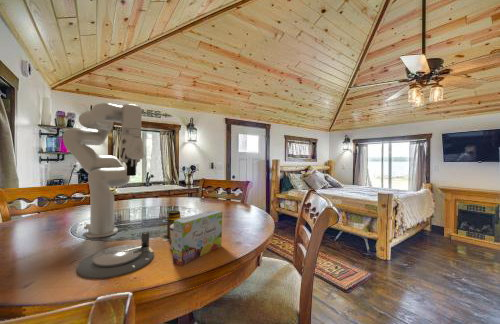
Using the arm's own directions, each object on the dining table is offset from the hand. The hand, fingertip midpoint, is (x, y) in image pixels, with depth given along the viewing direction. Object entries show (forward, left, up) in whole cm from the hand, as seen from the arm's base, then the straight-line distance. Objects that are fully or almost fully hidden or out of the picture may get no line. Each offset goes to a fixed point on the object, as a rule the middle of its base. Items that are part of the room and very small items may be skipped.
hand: (131, 175), depth 95 cm
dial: (+8, -16, -28) cm, 33 cm away
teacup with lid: (+24, -4, -29) cm, 38 cm away
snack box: (+34, -7, -29) cm, 45 cm away
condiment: (+15, +8, -29) cm, 34 cm away
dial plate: (+7, -17, -29) cm, 34 cm away
